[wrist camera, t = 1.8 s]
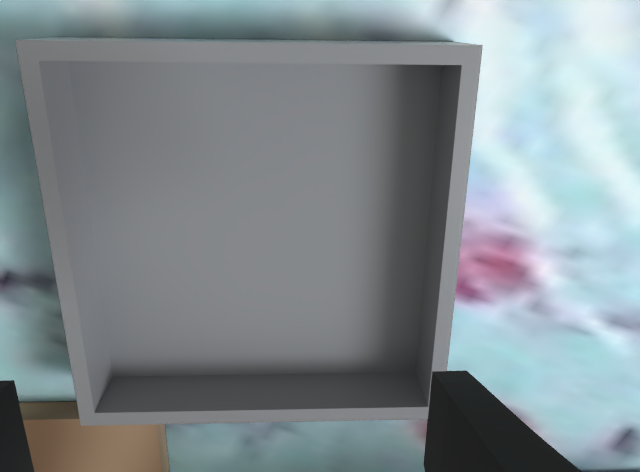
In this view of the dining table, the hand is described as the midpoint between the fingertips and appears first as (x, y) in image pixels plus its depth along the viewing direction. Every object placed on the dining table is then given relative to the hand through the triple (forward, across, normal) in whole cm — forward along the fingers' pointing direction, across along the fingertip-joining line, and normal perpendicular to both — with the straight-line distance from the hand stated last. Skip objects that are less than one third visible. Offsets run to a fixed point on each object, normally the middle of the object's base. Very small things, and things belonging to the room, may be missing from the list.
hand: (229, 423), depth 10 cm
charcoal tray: (+10, 0, 0) cm, 10 cm away
